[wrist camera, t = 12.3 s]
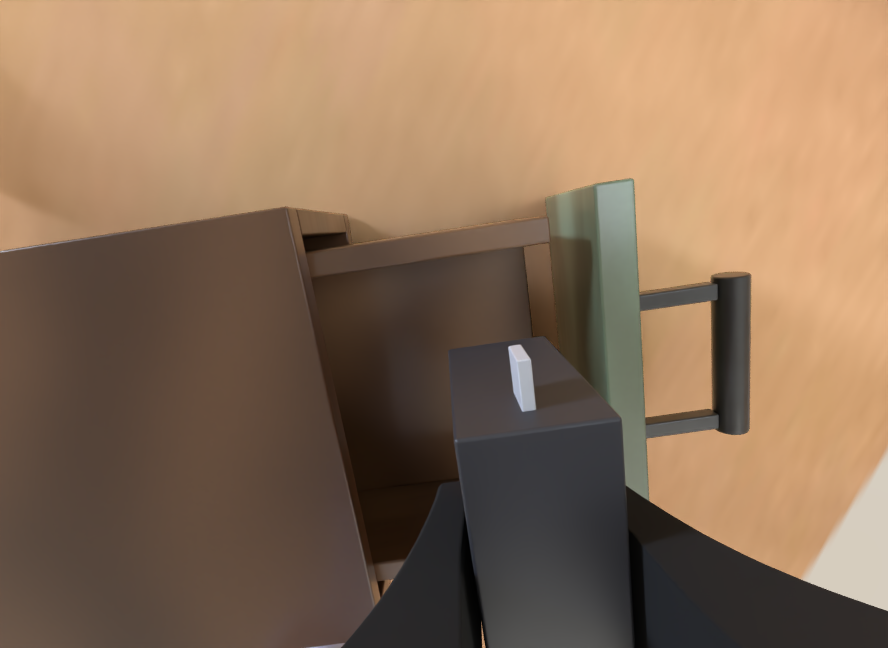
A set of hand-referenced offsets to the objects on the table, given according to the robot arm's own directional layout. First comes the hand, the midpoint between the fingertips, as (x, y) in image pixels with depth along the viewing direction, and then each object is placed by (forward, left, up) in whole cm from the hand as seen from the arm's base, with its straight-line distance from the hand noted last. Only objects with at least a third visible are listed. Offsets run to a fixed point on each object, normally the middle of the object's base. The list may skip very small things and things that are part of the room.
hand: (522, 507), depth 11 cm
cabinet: (+1, +12, -10) cm, 16 cm away
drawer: (+1, 0, -9) cm, 9 cm away
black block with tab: (0, 0, -1) cm, 1 cm away
